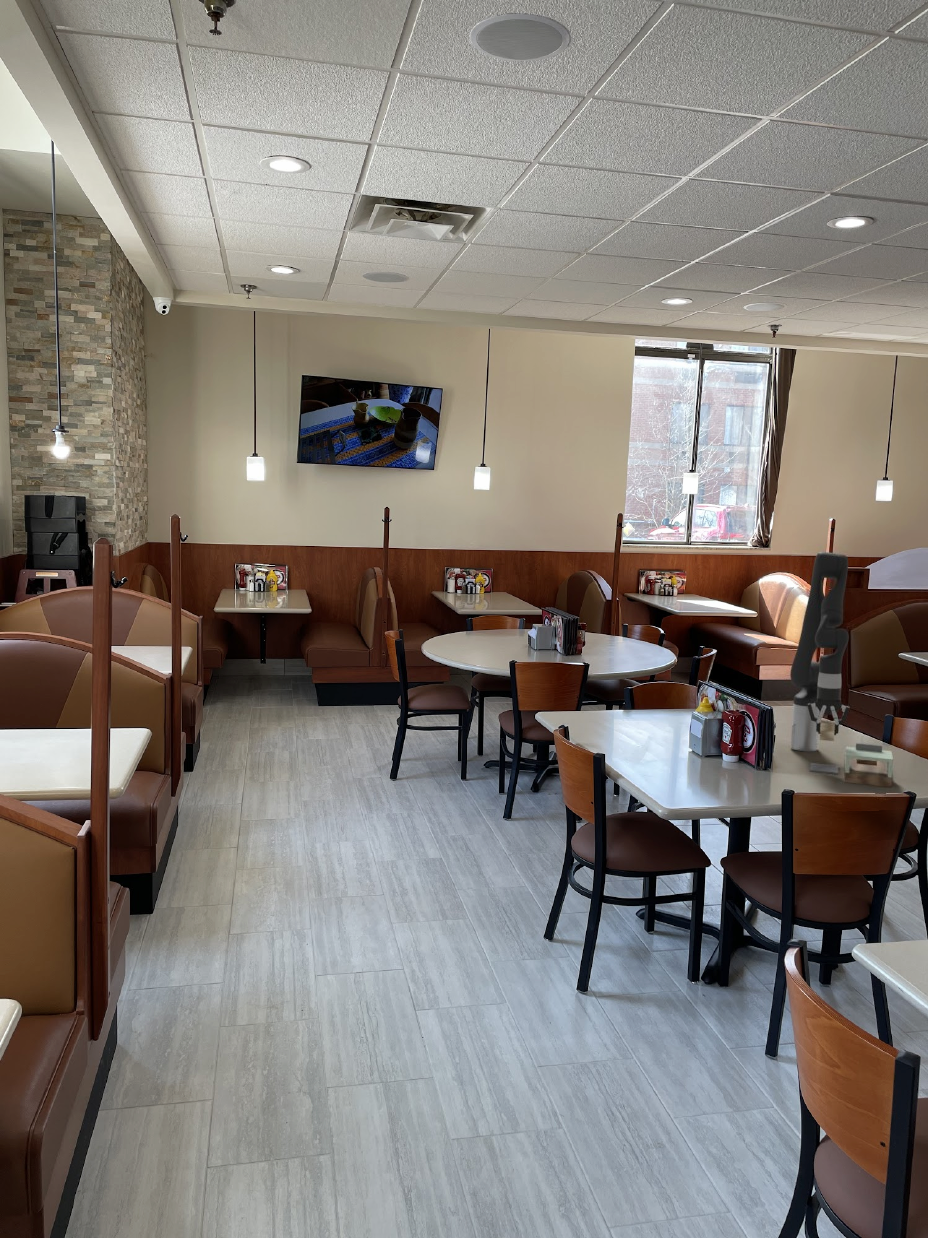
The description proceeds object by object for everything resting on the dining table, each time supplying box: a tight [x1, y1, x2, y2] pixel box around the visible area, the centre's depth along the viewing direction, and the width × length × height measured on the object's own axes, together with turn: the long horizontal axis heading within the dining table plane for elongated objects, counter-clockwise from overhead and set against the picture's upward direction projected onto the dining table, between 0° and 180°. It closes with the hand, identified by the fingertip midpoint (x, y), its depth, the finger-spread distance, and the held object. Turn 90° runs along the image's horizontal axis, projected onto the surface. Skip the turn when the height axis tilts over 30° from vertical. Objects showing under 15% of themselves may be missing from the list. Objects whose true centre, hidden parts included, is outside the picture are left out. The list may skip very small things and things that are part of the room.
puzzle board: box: [843, 754, 893, 788], centre depth 307 cm, size 14×25×3 cm, turn 157°
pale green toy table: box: [844, 742, 894, 778], centre depth 300 cm, size 14×11×8 cm
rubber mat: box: [809, 762, 839, 775], centre depth 313 cm, size 9×9×1 cm
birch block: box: [819, 719, 835, 742], centre depth 311 cm, size 4×4×6 cm
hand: (827, 733), depth 312 cm, fingers closed on birch block, 4 cm apart
